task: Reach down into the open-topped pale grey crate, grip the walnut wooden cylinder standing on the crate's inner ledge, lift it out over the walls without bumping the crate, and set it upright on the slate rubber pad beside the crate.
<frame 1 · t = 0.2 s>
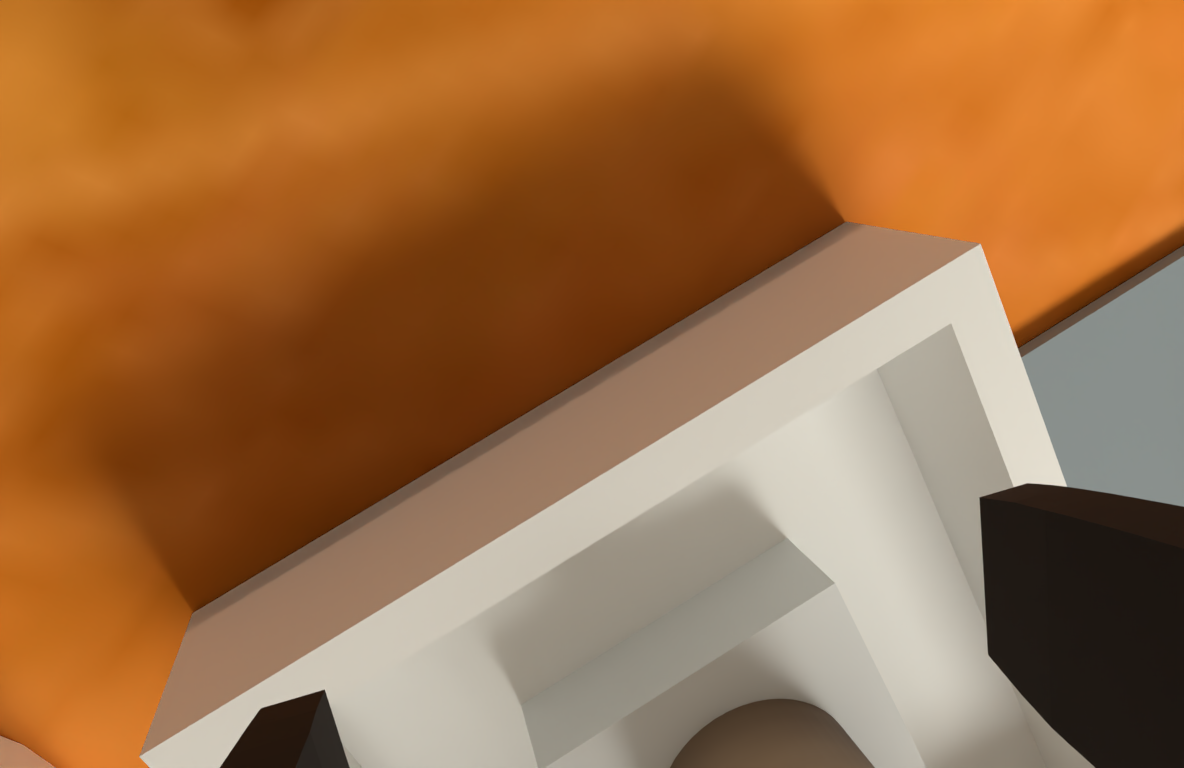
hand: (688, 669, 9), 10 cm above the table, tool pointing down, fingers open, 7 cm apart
grey crate: (708, 707, 22), on the table, touching walnut cylinder
slate pad: (1160, 454, 23), on the table
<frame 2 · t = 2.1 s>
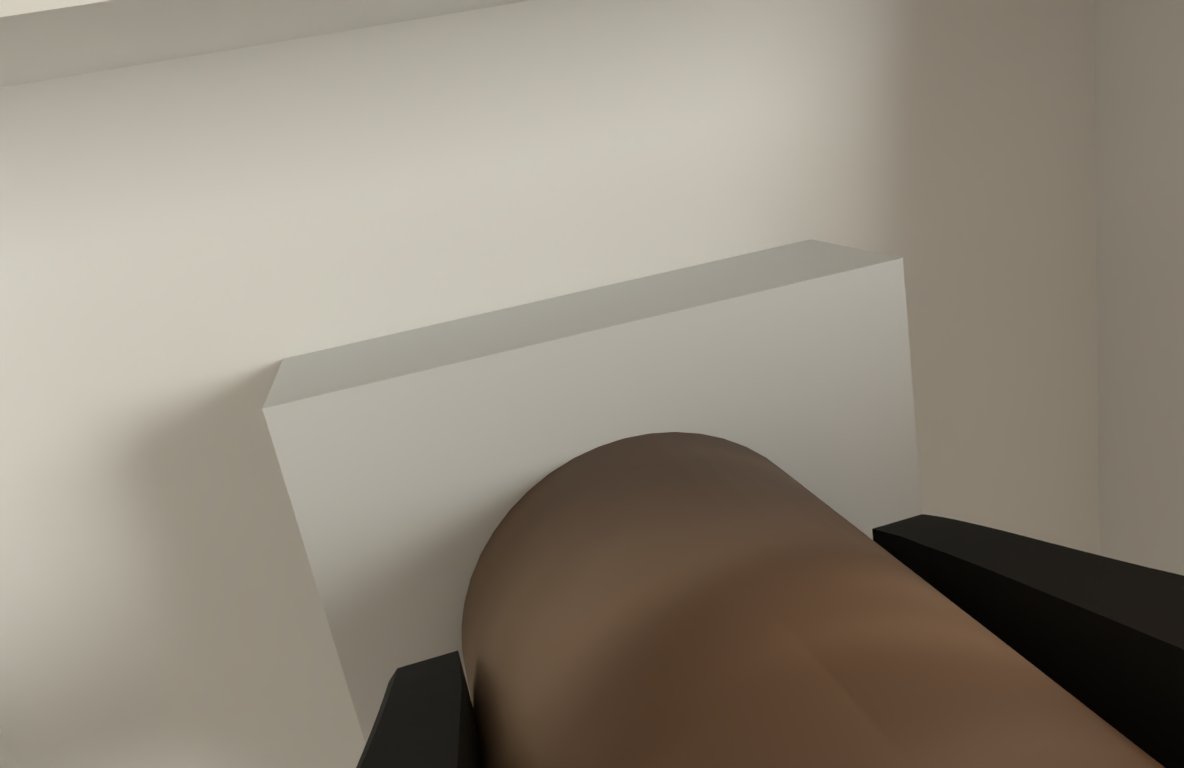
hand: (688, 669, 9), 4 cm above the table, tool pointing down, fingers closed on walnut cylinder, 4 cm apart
grey crate: (594, 516, 13), on the table, touching walnut cylinder
walnut cylinder: (656, 616, 10), point 3 cm above the table, touching grey crate, gripper
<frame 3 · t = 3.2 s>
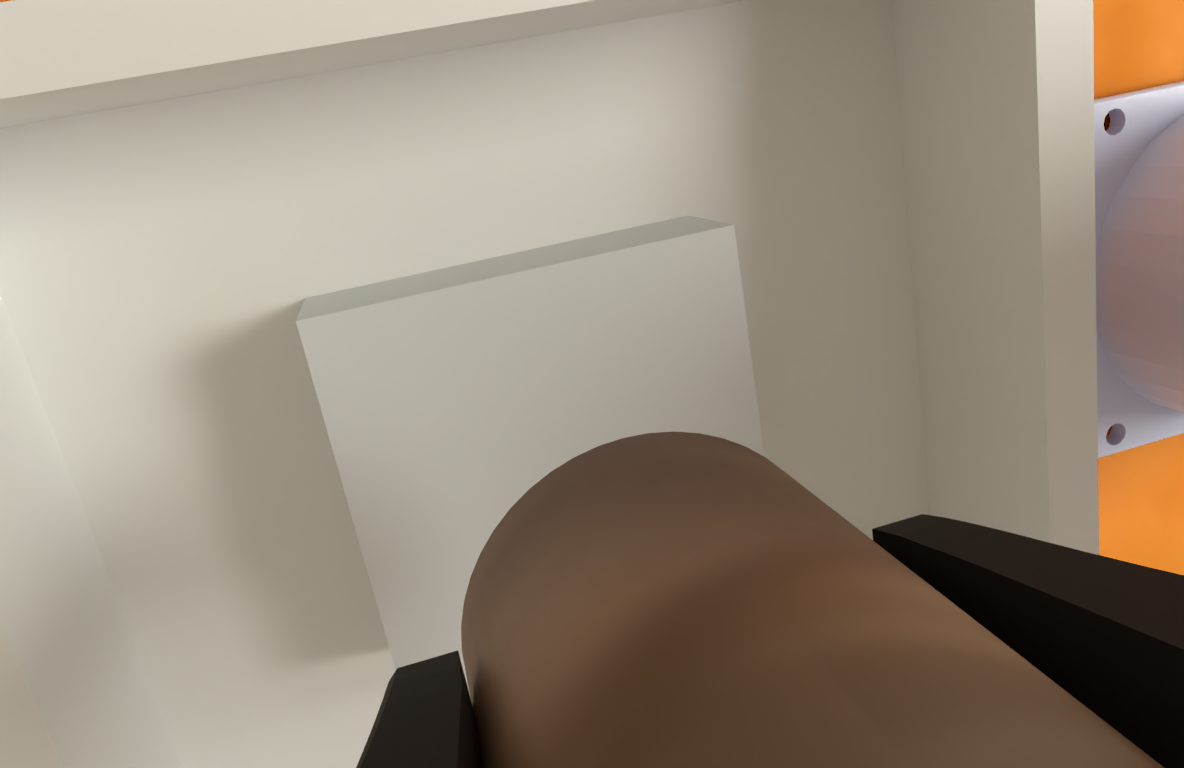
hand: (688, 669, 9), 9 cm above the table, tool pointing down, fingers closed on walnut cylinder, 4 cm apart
grey crate: (534, 423, 18), on the table
walnut cylinder: (655, 616, 10), point 8 cm above the table, touching gripper
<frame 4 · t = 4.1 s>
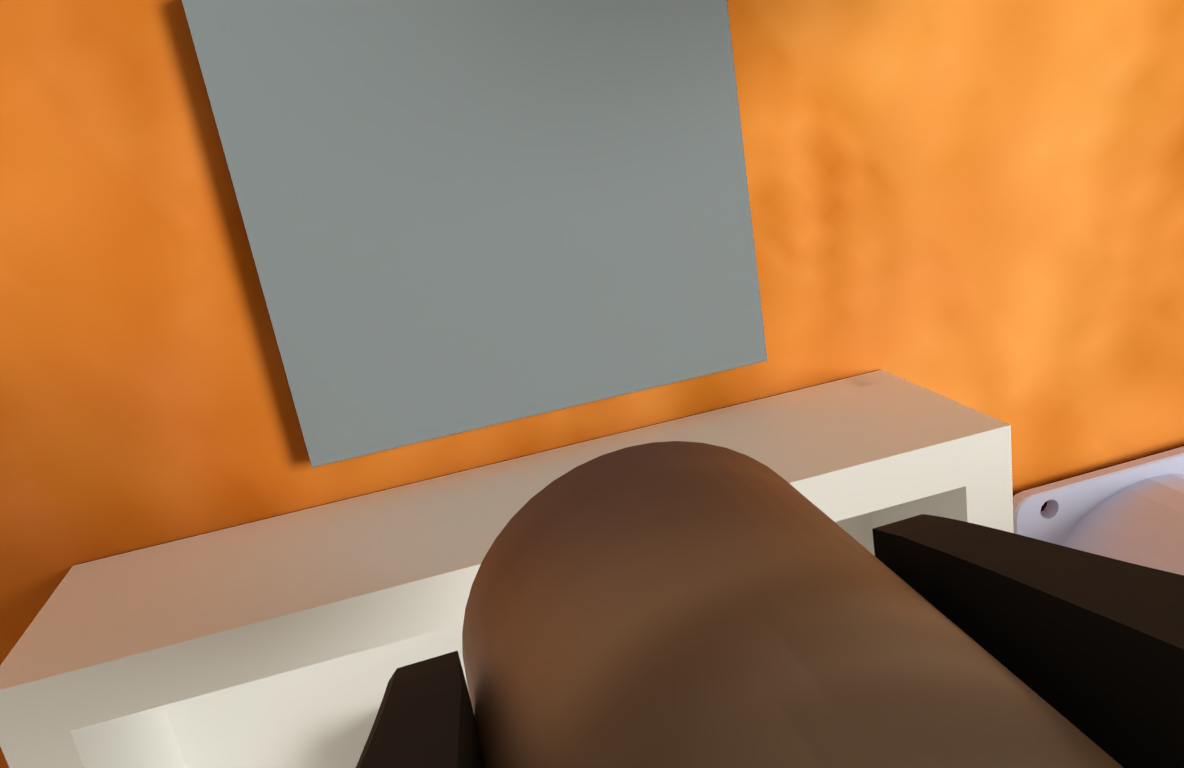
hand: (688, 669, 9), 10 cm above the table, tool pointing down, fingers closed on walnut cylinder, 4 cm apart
grey crate: (573, 760, 22), on the table
walnut cylinder: (655, 622, 10), point 9 cm above the table, touching gripper
slate pad: (507, 198, 18), on the table
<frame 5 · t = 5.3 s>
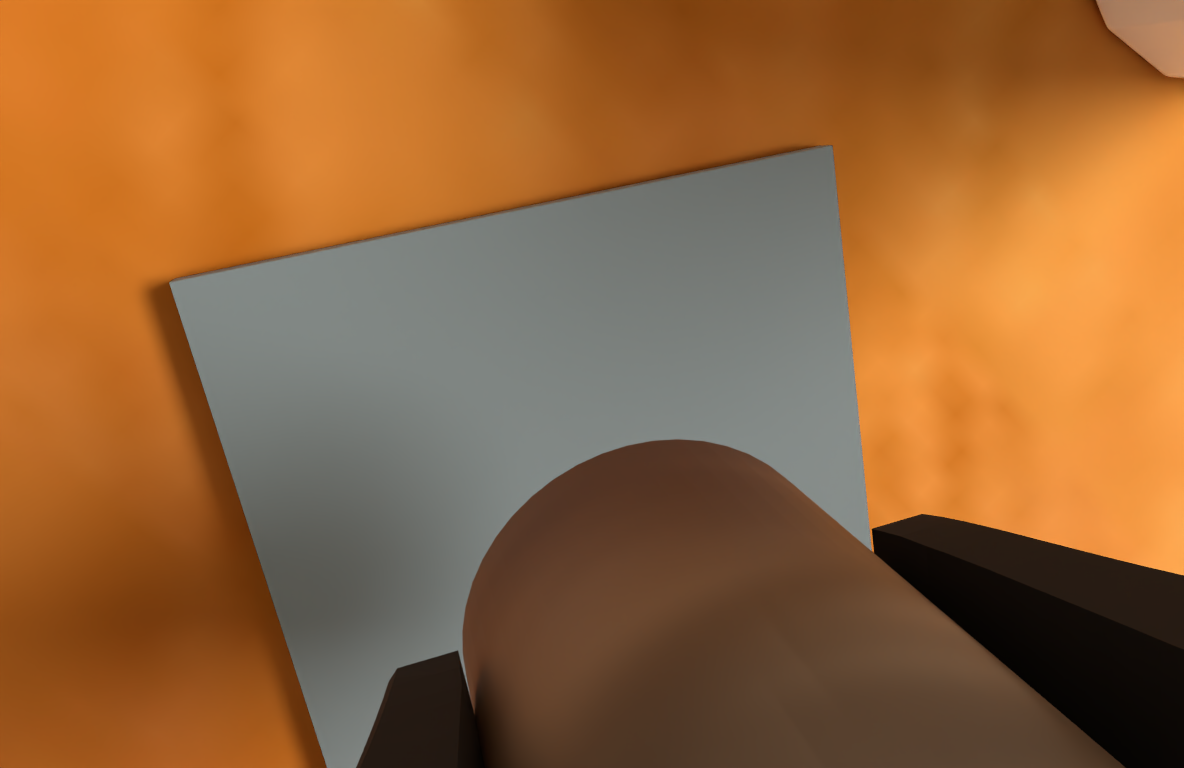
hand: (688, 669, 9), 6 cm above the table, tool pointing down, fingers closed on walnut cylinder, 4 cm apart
walnut cylinder: (655, 621, 10), point 5 cm above the table, touching gripper
slate pad: (573, 478, 15), on the table
when the fingers open (3 cm above the table, at t = 6.3 s): walnut cylinder drops 1 cm, resting on slate pad.
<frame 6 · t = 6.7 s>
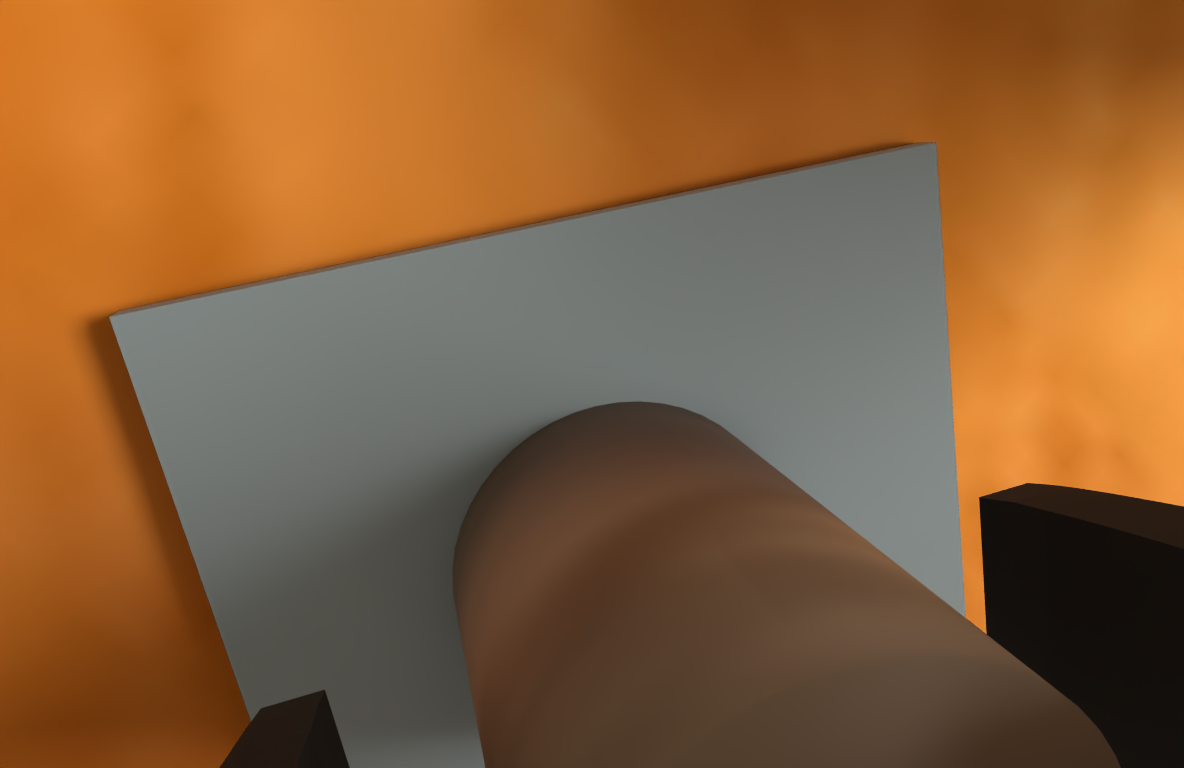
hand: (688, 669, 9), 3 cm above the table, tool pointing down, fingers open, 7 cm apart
walnut cylinder: (623, 565, 12), resting on slate pad
slate pad: (614, 547, 12), on the table
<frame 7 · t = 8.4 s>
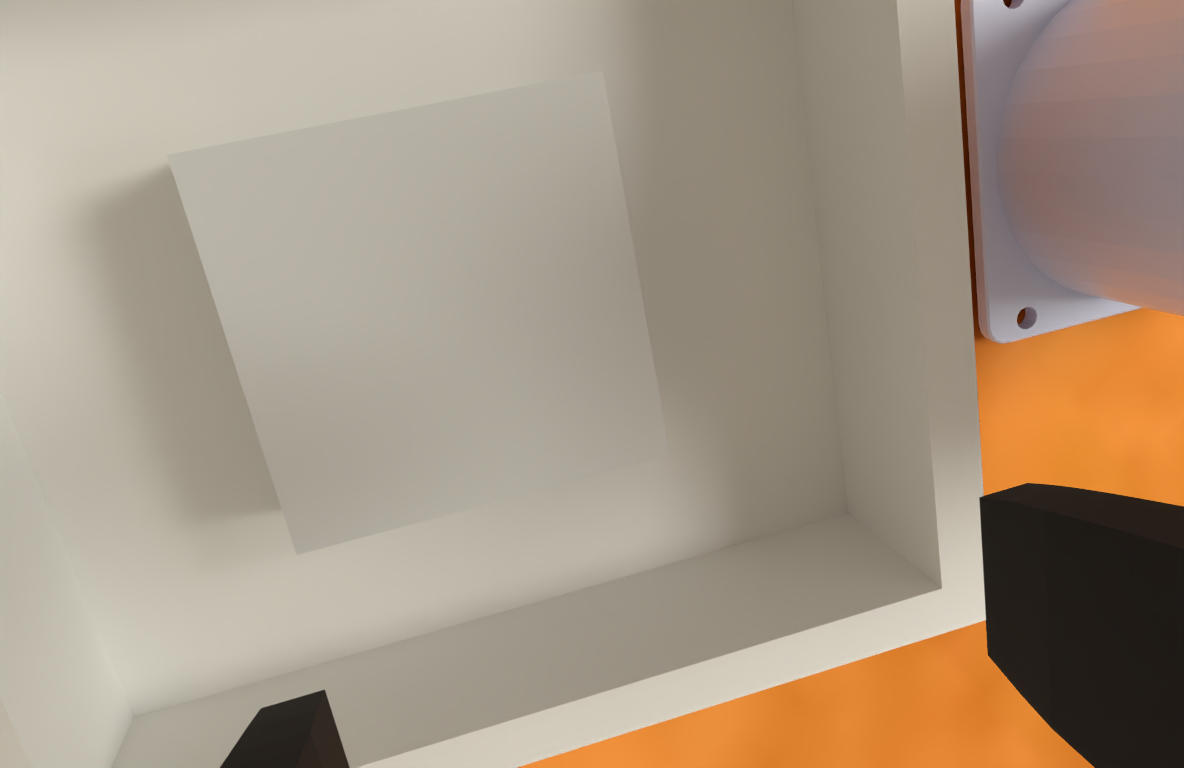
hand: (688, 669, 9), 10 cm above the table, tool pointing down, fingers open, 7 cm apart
grey crate: (435, 292, 18), on the table
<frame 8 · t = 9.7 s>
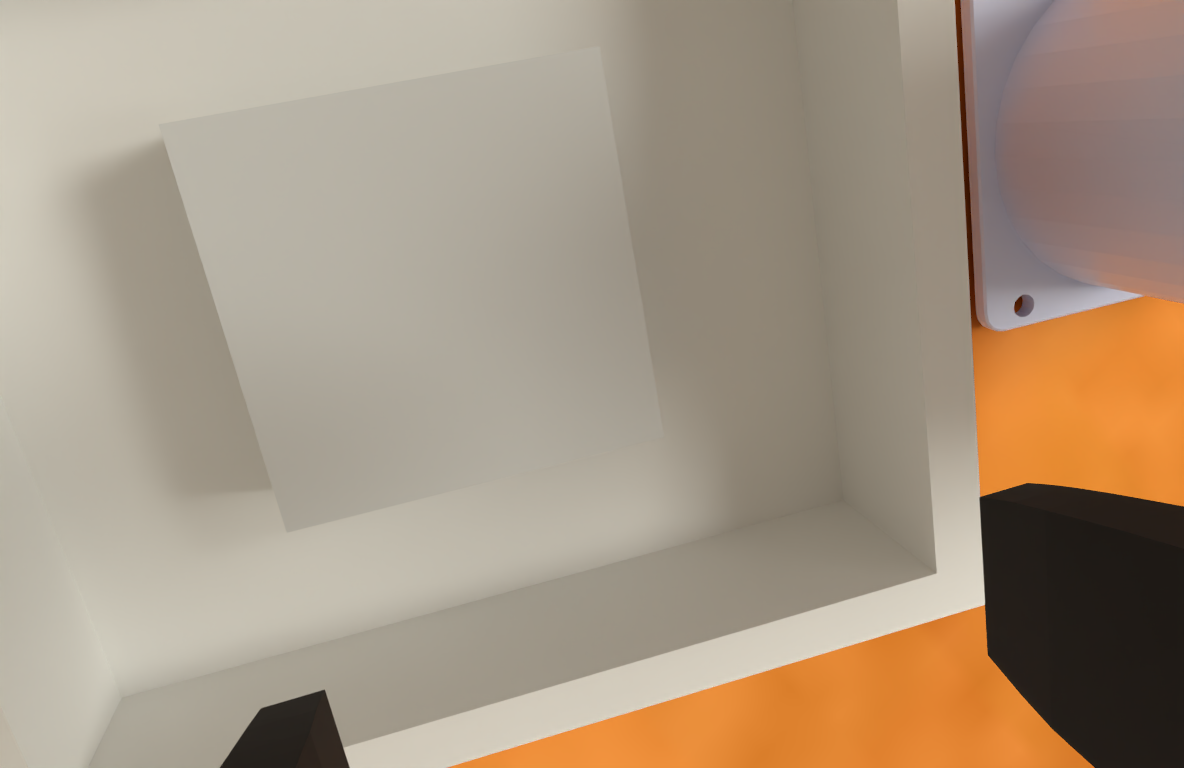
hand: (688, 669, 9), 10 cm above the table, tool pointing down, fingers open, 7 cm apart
grey crate: (430, 272, 18), on the table
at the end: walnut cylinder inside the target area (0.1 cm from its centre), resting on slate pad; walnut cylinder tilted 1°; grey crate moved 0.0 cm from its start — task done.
